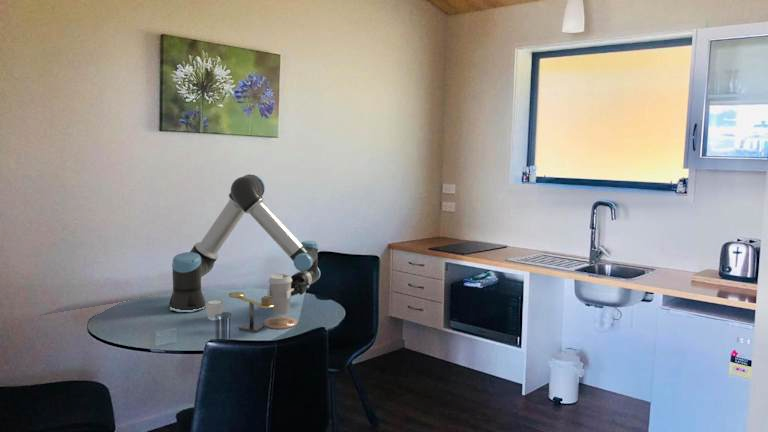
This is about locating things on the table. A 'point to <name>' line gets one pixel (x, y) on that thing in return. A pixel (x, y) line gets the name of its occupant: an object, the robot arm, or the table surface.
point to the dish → (280, 323)
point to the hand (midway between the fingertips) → (277, 294)
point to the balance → (265, 304)
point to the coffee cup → (280, 292)
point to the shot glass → (214, 308)
